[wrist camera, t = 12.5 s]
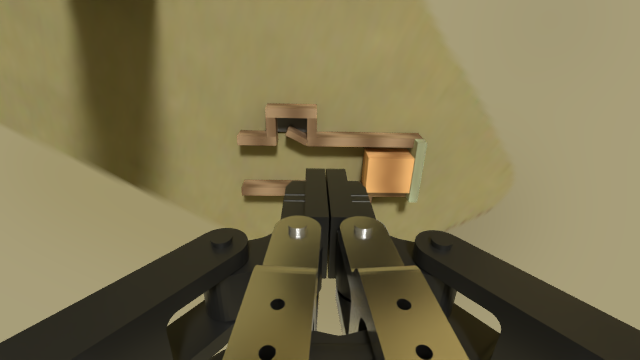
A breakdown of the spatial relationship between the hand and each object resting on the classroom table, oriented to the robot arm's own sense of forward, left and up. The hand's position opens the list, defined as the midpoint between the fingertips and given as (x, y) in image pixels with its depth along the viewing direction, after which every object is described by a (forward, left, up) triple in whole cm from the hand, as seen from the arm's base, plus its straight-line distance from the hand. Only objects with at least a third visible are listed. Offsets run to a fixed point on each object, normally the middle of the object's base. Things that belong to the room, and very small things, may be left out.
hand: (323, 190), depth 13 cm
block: (+10, -12, -32) cm, 36 cm away
